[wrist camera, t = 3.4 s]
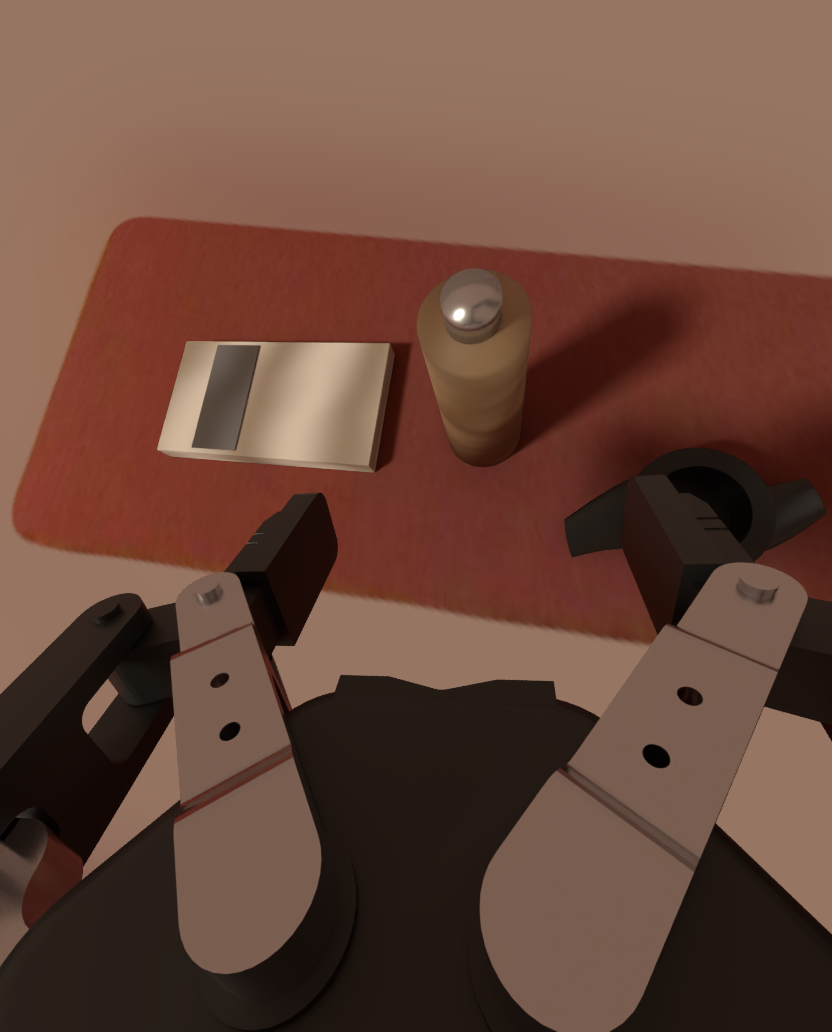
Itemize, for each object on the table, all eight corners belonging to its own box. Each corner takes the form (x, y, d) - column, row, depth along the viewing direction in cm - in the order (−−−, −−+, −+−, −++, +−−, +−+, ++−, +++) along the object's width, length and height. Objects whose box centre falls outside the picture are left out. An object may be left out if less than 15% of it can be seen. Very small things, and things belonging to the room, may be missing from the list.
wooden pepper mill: (523, 401, 25) (539, 240, 14) (517, 469, 24) (529, 351, 14) (452, 399, 26) (418, 244, 15) (444, 464, 25) (402, 349, 15)
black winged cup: (606, 423, 24) (619, 397, 21) (814, 493, 21) (859, 474, 19) (549, 551, 23) (554, 542, 21) (758, 642, 21) (797, 645, 18)
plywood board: (394, 354, 28) (389, 342, 26) (374, 472, 26) (368, 464, 25) (198, 351, 31) (185, 340, 29) (170, 456, 29) (155, 448, 28)
